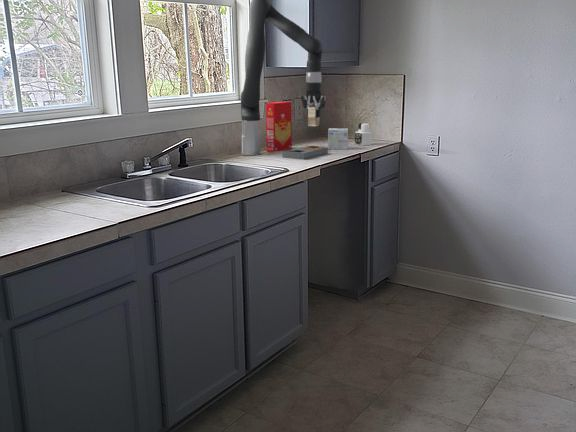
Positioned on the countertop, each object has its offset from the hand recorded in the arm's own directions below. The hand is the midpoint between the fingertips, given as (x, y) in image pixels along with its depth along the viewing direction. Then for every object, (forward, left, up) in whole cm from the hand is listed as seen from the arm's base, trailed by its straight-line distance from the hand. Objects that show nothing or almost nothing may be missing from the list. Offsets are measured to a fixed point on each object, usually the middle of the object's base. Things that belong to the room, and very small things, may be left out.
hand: (313, 117), depth 289 cm
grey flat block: (-5, -5, -19) cm, 20 cm away
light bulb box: (+18, +20, -19) cm, 33 cm away
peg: (0, 0, -4) cm, 4 cm away
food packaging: (-14, +20, -19) cm, 31 cm away
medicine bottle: (+36, +32, -19) cm, 52 cm away
